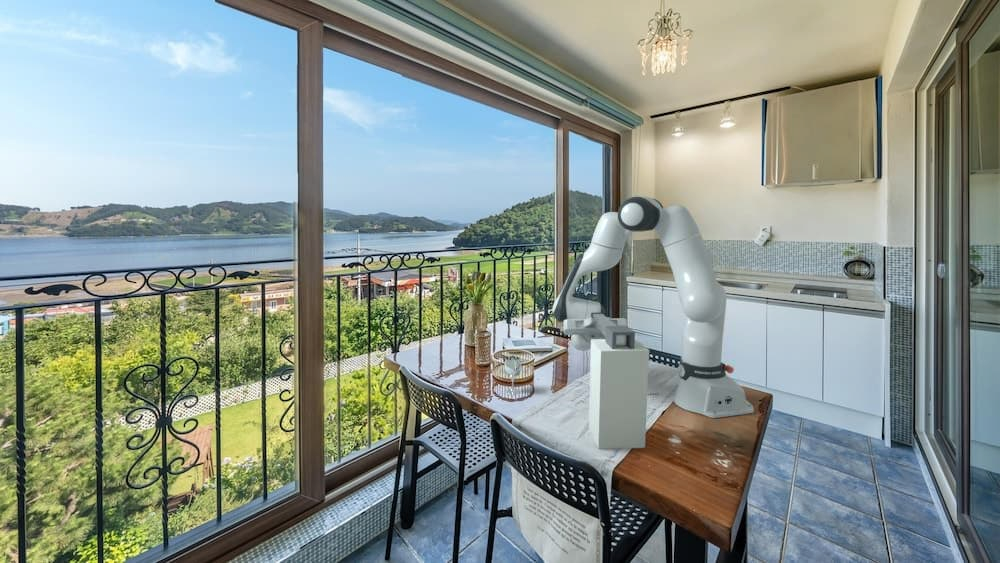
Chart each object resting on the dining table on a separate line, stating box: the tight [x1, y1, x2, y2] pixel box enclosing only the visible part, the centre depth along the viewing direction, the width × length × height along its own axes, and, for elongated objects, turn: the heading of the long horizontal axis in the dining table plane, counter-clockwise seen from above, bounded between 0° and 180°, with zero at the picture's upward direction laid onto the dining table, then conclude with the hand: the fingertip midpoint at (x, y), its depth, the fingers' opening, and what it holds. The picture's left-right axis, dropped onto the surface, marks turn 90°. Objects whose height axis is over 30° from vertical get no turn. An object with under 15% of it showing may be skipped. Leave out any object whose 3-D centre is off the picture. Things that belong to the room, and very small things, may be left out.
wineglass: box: [503, 355, 522, 395], centre depth 135 cm, size 6×6×12 cm
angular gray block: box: [591, 312, 627, 346], centre depth 113 cm, size 3×24×3 cm, turn 1°
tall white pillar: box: [588, 325, 650, 450], centre depth 104 cm, size 12×10×30 cm
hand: (600, 319), depth 120 cm, fingers closed on angular gray block, 3 cm apart
